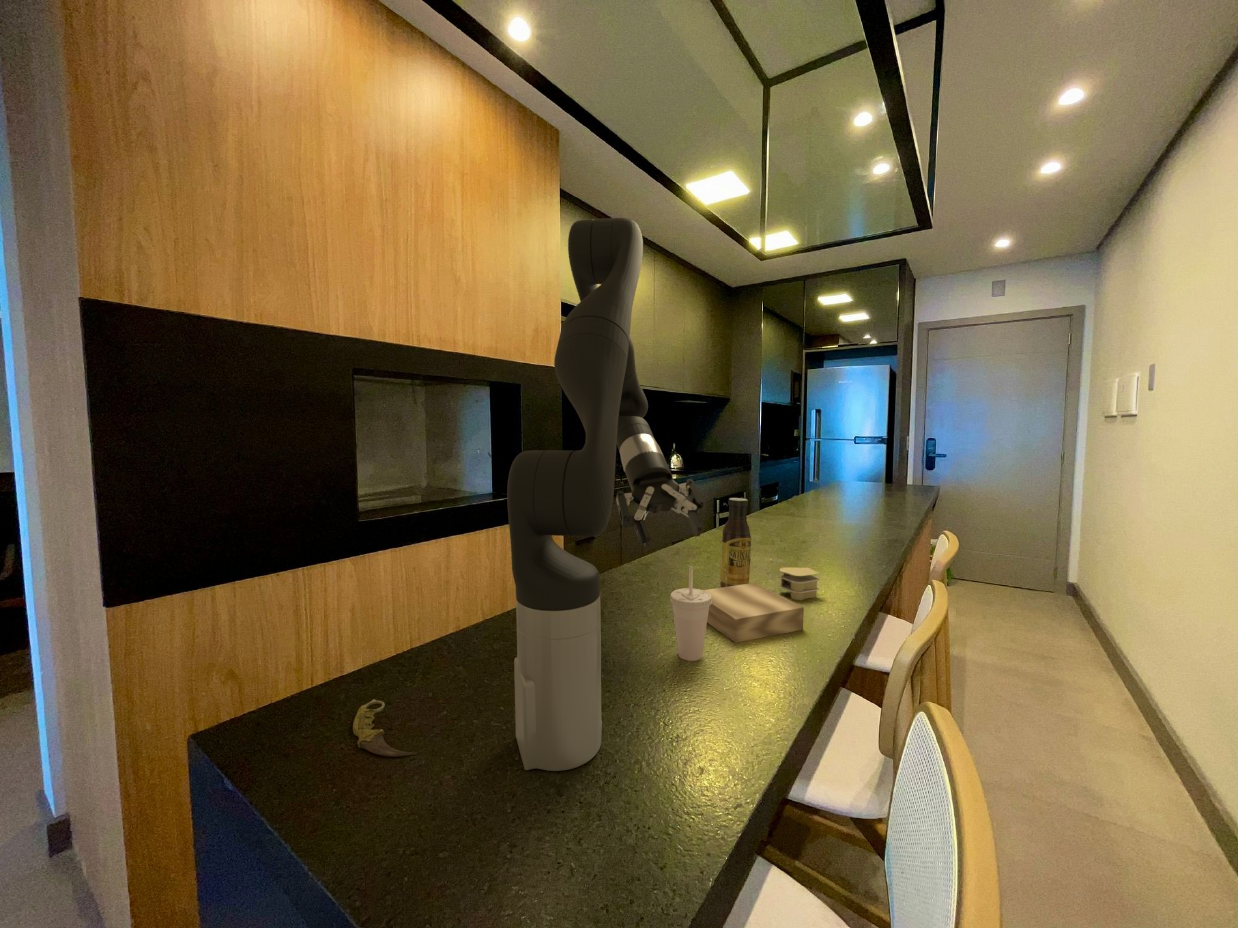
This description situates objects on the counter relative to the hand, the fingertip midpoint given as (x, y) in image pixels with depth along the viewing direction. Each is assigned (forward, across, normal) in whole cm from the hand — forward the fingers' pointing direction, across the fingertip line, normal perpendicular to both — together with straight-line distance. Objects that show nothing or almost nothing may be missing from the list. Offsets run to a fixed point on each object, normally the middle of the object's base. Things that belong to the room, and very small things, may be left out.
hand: (673, 538), depth 76 cm
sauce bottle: (-3, +20, +31) cm, 37 cm away
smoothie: (+14, -1, +12) cm, 19 cm away
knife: (+18, -43, +1) cm, 47 cm away
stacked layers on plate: (+3, +31, +28) cm, 42 cm away
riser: (+8, +14, +20) cm, 26 cm away
